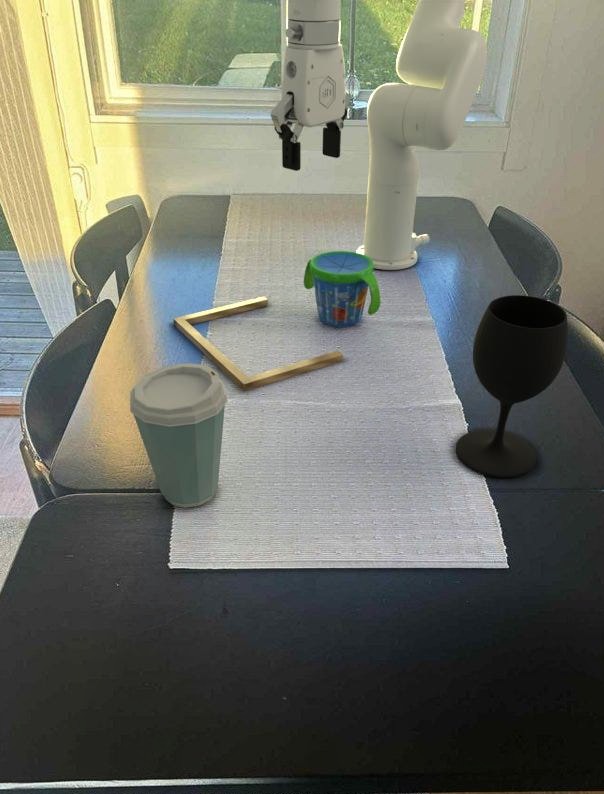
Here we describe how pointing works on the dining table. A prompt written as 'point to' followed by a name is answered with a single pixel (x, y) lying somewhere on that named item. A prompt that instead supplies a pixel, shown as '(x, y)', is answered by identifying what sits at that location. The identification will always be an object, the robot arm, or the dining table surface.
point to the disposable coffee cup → (182, 429)
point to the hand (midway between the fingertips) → (311, 162)
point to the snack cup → (342, 286)
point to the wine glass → (513, 376)
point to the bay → (227, 366)
